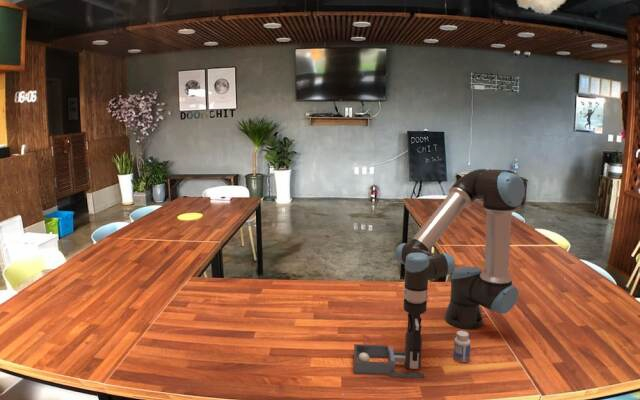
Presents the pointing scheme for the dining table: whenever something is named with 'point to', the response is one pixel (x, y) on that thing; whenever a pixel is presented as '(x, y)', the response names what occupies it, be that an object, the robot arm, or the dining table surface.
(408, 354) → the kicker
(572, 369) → the dining table surface
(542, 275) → the dining table surface
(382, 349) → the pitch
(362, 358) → the ball
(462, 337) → the pill bottle
